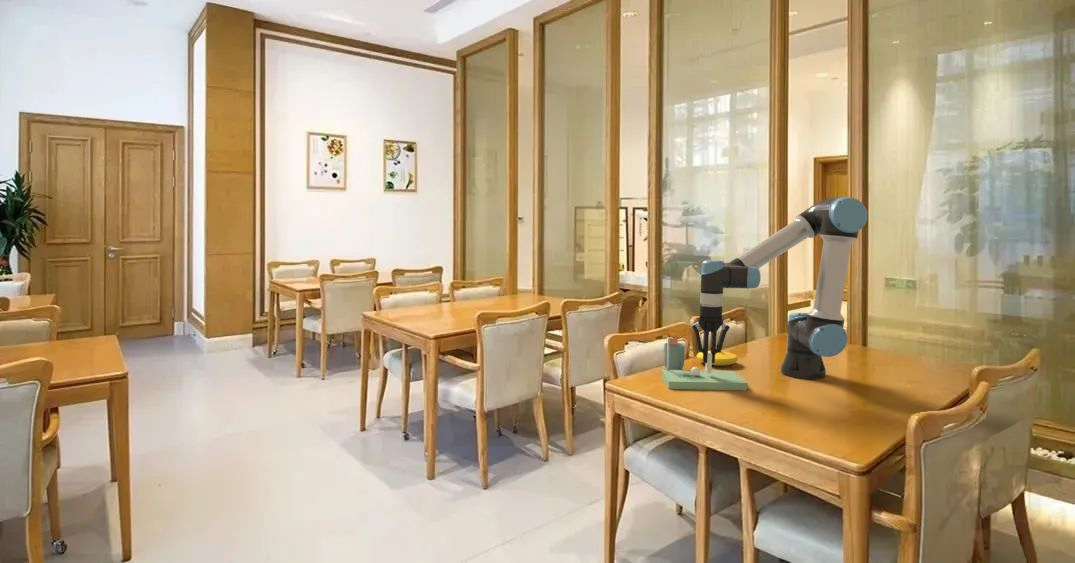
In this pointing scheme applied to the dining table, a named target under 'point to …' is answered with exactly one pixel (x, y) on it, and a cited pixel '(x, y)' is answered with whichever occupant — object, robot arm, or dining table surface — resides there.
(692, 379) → the green stand
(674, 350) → the cup
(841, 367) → the dining table surface
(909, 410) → the dining table surface
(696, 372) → the ball
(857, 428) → the dining table surface
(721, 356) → the yellow round domed piece
